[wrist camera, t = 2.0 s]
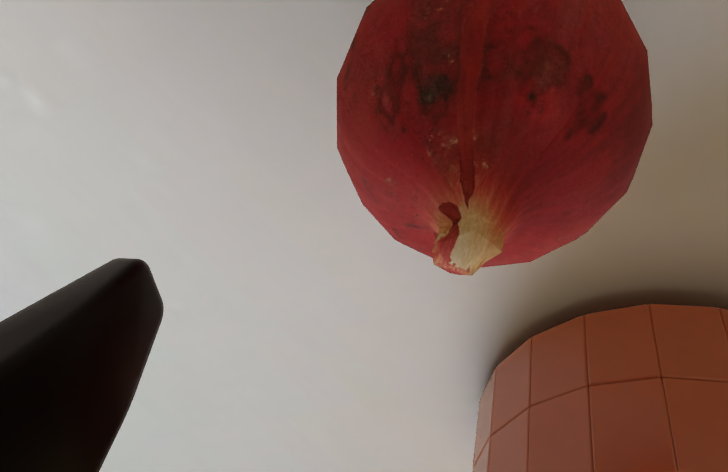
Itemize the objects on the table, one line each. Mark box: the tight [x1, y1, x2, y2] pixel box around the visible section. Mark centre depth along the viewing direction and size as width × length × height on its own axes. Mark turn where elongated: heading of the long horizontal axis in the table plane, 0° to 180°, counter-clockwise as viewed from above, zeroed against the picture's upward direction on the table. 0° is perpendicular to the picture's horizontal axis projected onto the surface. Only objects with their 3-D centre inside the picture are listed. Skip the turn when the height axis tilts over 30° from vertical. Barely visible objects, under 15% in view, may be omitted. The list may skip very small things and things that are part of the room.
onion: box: [337, 0, 653, 275], centre depth 12 cm, size 6×6×8 cm
